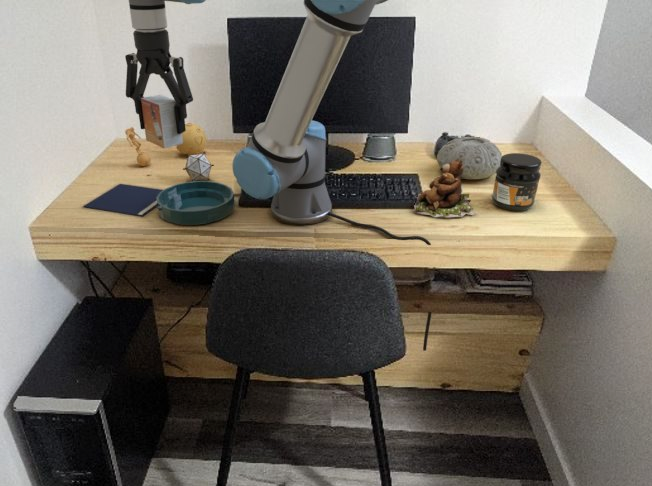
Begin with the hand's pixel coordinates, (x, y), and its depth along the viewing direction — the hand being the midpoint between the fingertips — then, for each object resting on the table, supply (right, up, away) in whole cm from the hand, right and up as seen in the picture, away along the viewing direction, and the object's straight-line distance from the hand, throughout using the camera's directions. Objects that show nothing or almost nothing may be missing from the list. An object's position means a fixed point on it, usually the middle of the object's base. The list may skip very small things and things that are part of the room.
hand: (163, 129), depth 133 cm
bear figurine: (+69, -18, +8) cm, 72 cm away
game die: (+4, -8, +26) cm, 27 cm away
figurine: (-16, -2, +36) cm, 40 cm away
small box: (0, -3, +2) cm, 3 cm away
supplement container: (+88, -17, +9) cm, 90 cm away
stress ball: (-2, +3, +45) cm, 45 cm away
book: (-12, -15, +14) cm, 24 cm away
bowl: (+7, -18, +8) cm, 21 cm away
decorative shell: (+82, -6, +28) cm, 86 cm away
